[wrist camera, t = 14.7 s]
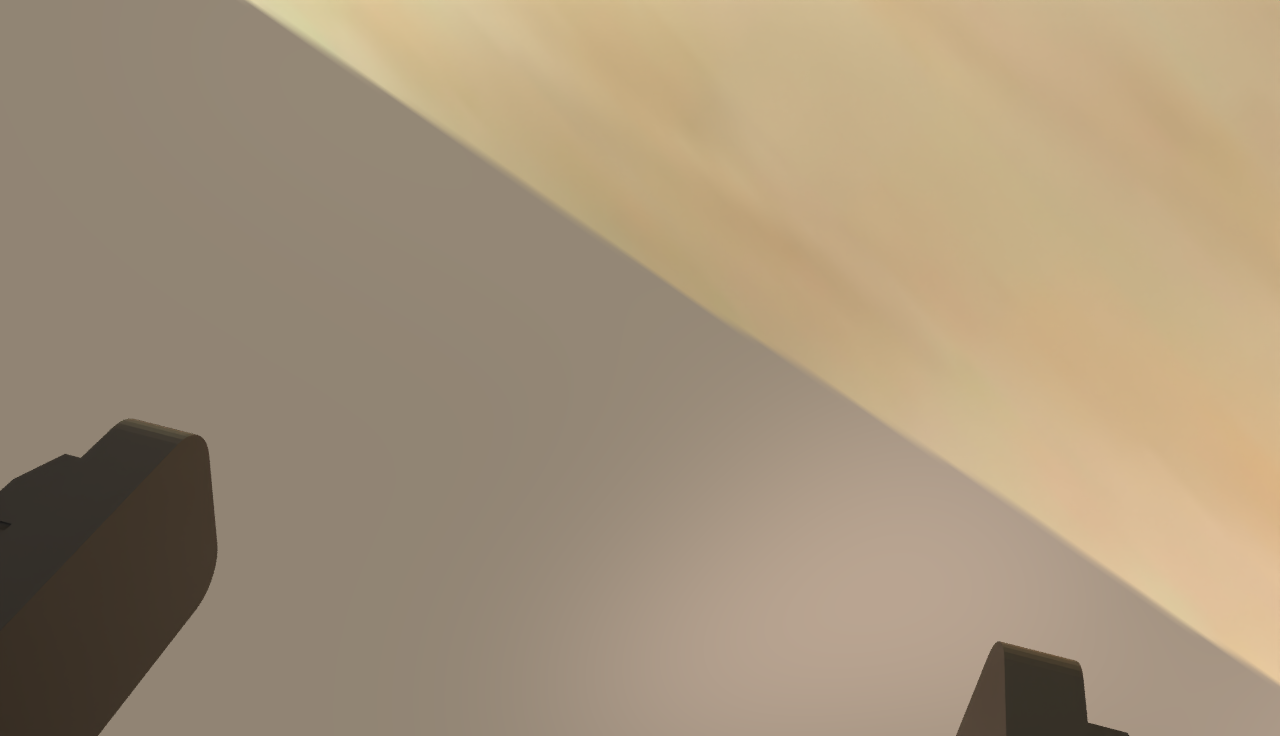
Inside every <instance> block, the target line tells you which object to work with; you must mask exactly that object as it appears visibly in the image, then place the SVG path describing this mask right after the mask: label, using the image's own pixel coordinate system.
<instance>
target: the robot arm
mask: <svg viewBox="0 0 1280 736" xmlns="http://www.w3.org/2000/svg"><path fill="white" fill-rule="evenodd" d="M216 537H217V536H216V527H215V516H214V505H213V493H212V482H211V471H210V460H209V452H208V447H207V444H206V442H205V440H204V439H203V438H202V437H201V436H198V435H195V434H191V433H187V432H183V431H179V430H175V429H172V428H168V427H164V426H160V425H156V424H152V423H148V422H144V421H140V420H136V419H126V420H123V421H121V422H119V423H118V424H117V425H116V426H114V427H113V428H112V429H111V430H110V431H109V432H108V433H107V434H106V435H105V436H103V438H101V439H100V440H99V441H98V442H97V443H96V444H95V445H94V446H93V447H92V448H91V449H90V450H89V451H88V452H87V453H86V454H85V455H83V456H82V457H81V458H79V457H75V456H71V455H67V454H64V455H62V456H60V457H58V458H56V459H54V460H52V461H50V462H48V463H46V464H43V465H42V466H39V467H37V468H35V469H33V470H31V471H29V472H27V473H25V474H23V475H21V476H19V477H17V478H15V479H13V480H12V481H11V482H10V483H9V484H7V486H5V487H4V488H3V489H2V490H1V491H0V736H98V735H99V734H100V732H101V731H102V730H103V728H104V727H105V726H106V725H107V723H108V722H109V721H110V719H111V718H112V717H113V716H114V714H115V713H116V712H117V710H118V709H119V708H120V706H121V705H122V704H123V703H124V701H125V700H126V699H127V698H128V696H129V695H130V694H131V692H132V691H133V690H134V688H135V687H136V686H137V685H138V683H139V682H140V681H141V680H142V678H143V677H144V676H145V674H146V673H147V672H148V671H149V669H150V668H151V667H152V665H153V664H154V663H155V662H156V660H157V659H158V658H159V656H160V655H161V654H162V653H163V651H164V650H165V649H166V647H167V646H168V645H169V644H170V642H171V641H172V640H173V638H174V637H175V636H176V635H177V633H178V632H179V631H180V629H181V628H182V627H183V625H184V624H185V623H186V621H187V620H188V619H189V618H190V617H191V615H192V614H193V613H194V611H195V610H196V609H197V607H198V606H199V604H200V603H201V601H202V600H203V598H204V596H205V594H206V592H207V590H208V588H209V585H210V582H211V579H212V576H213V574H214V570H215V565H216V559H217V538H216ZM956 736H1129V735H1128V733H1126V732H1122V731H1118V730H1114V729H1110V728H1106V727H1103V726H1099V725H1095V724H1091V723H1088V721H1087V710H1086V700H1085V691H1084V680H1083V673H1082V669H1081V666H1080V664H1079V663H1078V662H1077V661H1075V660H1070V659H1066V658H1063V657H1059V656H1055V655H1051V654H1047V653H1043V652H1039V651H1035V650H1031V649H1027V648H1023V647H1020V646H1015V645H1012V644H1008V643H1004V642H997V643H995V645H994V646H993V647H992V649H991V651H990V653H989V655H988V658H987V660H986V663H985V665H984V668H983V670H982V673H981V675H980V678H979V680H978V683H977V685H976V688H975V690H974V693H973V695H972V698H971V700H970V703H969V705H968V708H967V710H966V712H965V715H964V717H963V720H962V722H961V725H960V727H959V730H958V733H957V735H956Z"/></svg>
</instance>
